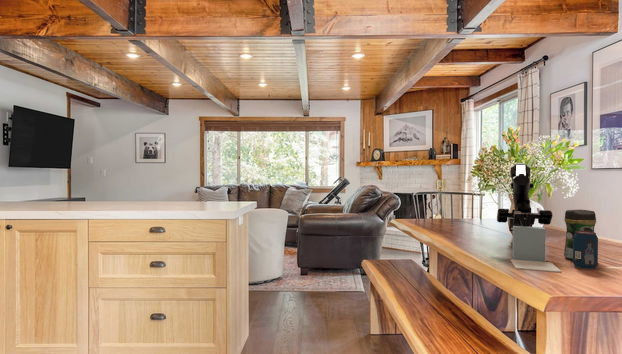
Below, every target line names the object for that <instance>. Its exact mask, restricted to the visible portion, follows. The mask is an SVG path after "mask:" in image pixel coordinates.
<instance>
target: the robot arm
mask: <svg viewBox="0 0 622 354" xmlns="http://www.w3.org/2000/svg"><path fill="white" fill-rule="evenodd" d="M509 171H510V176H509V177H510V178H509V179H511V181H510V190H512V192H513V193H512V198H513V207H514V208H513V209H512V211H511V212H510V208H498V209H497V214H496V222H497V223H507V222H508V223H509V226H508V227H509V232H513V226H526V227H533V225H535V221H536V220H537V221H538V222H537V223H538V224H540V225H550V224H551V223H552V219H553V218H552V217H553V216H554V215H553V212H552V211H551V210H549V209H547V210H546V209H545V210H544V209H540V210H539V211H538V213H537V212H532V206H531V199H530V195H529V193H530V191H531V190H532V189H533V188H534V183H533V182H532V181H531V179H530V178H531V167H530V166H528V165H527V163H525V162H523V163H522V162H521V163H520V162H518V163H514V165H513V166H511V167H510V170H509ZM511 238H512V239H511V242H510V244H511V247H512V246H513V234H512V237H511Z"/></svg>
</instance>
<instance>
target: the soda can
mask: <svg viewBox="0 0 622 354" xmlns="http://www.w3.org/2000/svg"><path fill="white" fill-rule="evenodd" d="M598 260H599V237H598V236H597V233H596V232H595V231H594V232H588V231H576V233H575V234H574V236H573V260H572V264H573V266H574V267H575V268H578V269H580V270H592V271H593V270H596V268H597V267H598V265H599V264H598V263H599V261H598Z"/></svg>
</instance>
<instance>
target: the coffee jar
mask: <svg viewBox="0 0 622 354" xmlns="http://www.w3.org/2000/svg"><path fill="white" fill-rule="evenodd" d="M564 223H565V225H566V234H565V243H564V250H563V251H564V253H563V256H564V258H566V259H567V260H569V261H570V260H572V261H573V236H574V234H575V233H576V231H588V232H595V226H596V224H597V217H596V212H595V211H593V210H589V209H566V211H565V213H564Z"/></svg>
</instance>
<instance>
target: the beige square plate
mask: <svg viewBox="0 0 622 354" xmlns="http://www.w3.org/2000/svg"><path fill="white" fill-rule="evenodd" d="M509 262H511V264H512V265H513V267H514V268H515V269H516V270H525V271H526V270H527V271H539V272H549V273H550V272H551V273H562V270H561V269H559V267H557V266H556V265H555V264H554V263H553V262H550V261H545V262H539V261H526V260H514V259H513V258H511V259H510V260H509Z"/></svg>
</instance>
